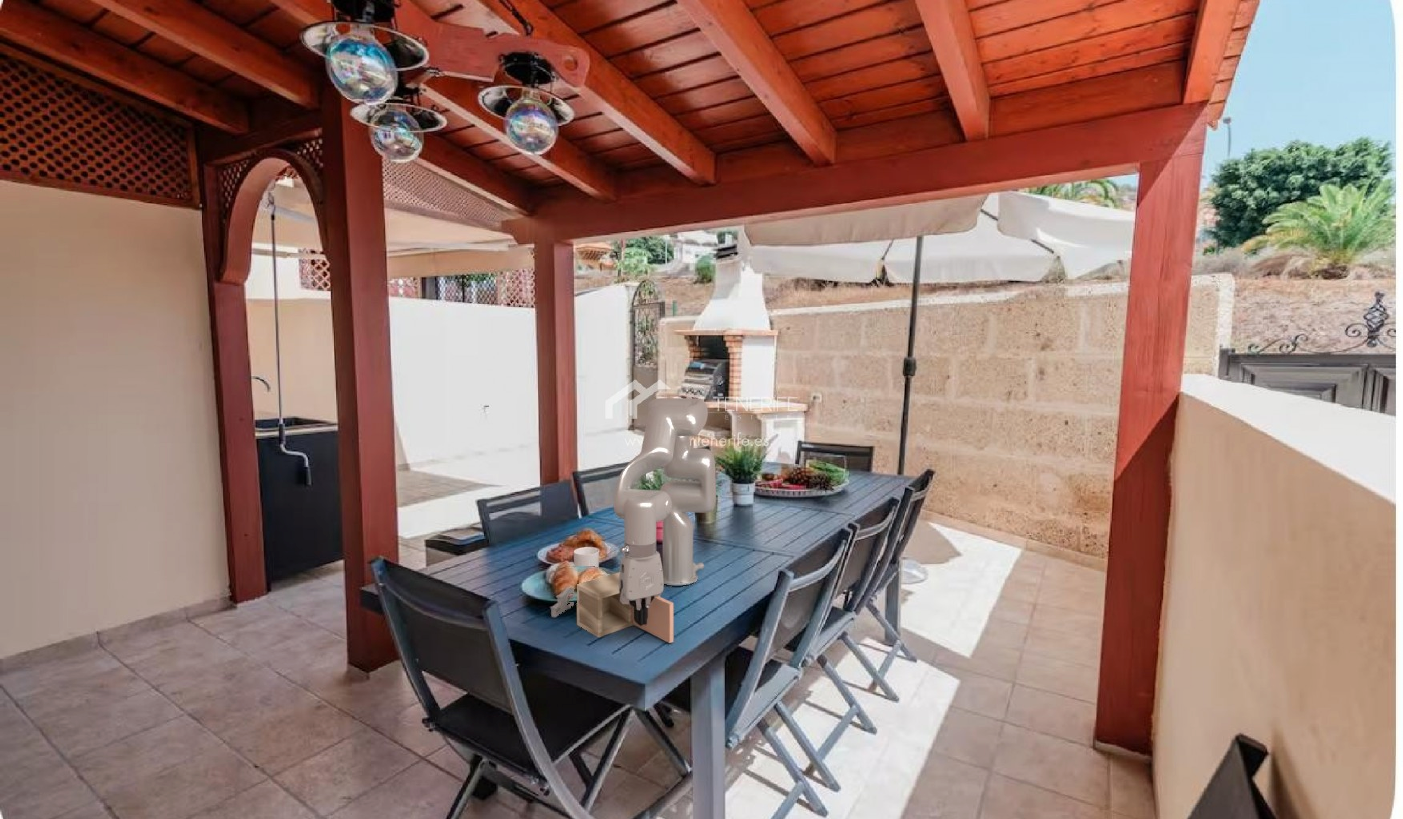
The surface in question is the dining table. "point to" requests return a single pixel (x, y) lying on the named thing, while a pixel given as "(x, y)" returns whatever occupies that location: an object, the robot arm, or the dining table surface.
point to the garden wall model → (562, 602)
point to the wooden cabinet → (602, 606)
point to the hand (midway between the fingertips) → (640, 623)
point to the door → (659, 619)
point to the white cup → (586, 557)
